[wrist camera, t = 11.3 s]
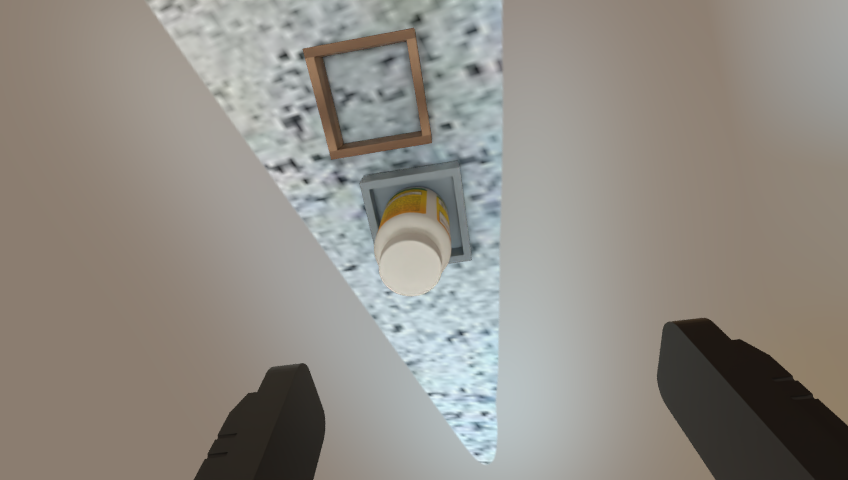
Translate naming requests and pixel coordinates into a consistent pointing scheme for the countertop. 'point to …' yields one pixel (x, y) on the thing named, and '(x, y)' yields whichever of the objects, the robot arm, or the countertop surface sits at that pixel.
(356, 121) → the countertop surface
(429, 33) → the countertop surface
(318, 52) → the wooden square frame
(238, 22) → the countertop surface
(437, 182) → the tray
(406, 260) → the supplement bottle
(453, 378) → the countertop surface
